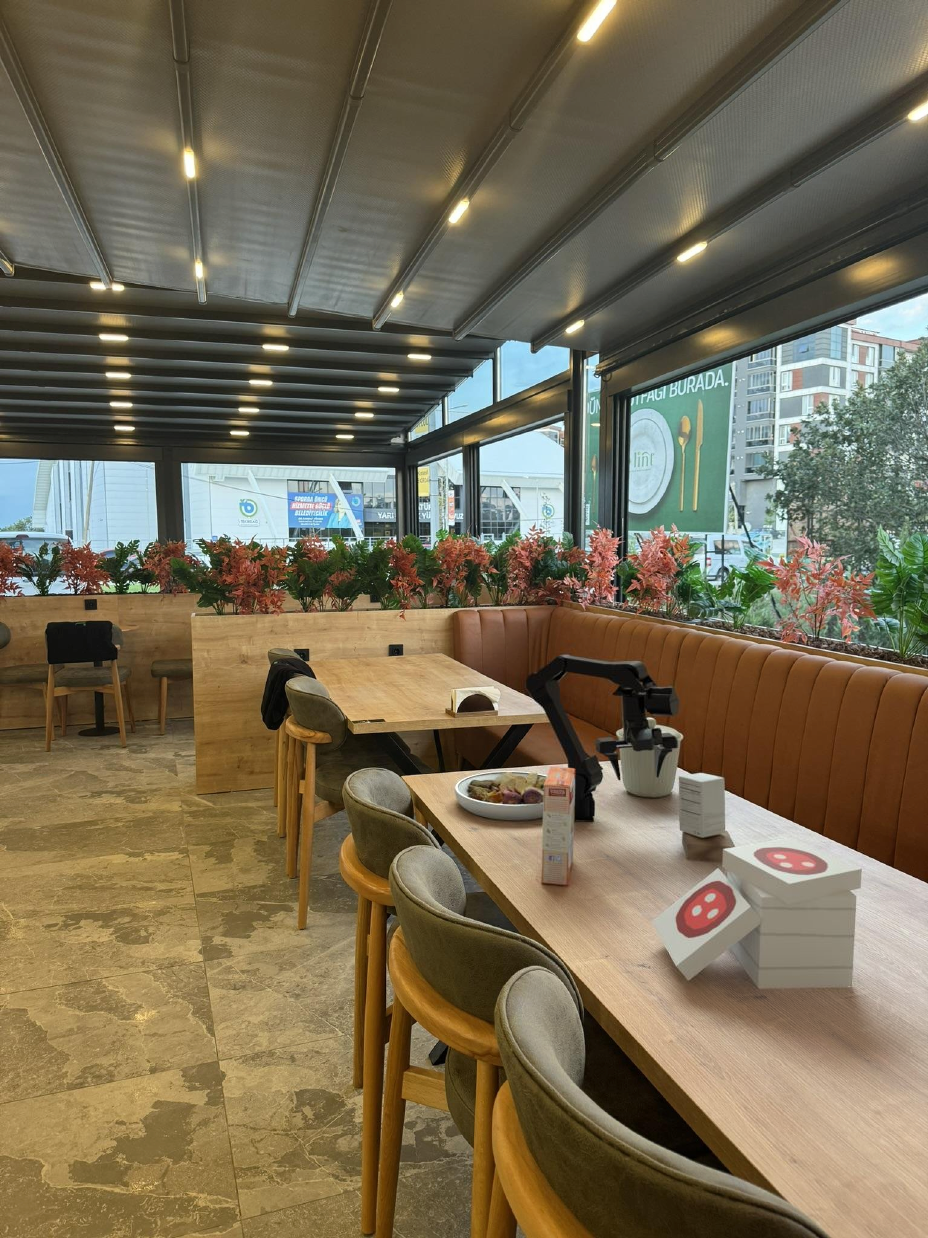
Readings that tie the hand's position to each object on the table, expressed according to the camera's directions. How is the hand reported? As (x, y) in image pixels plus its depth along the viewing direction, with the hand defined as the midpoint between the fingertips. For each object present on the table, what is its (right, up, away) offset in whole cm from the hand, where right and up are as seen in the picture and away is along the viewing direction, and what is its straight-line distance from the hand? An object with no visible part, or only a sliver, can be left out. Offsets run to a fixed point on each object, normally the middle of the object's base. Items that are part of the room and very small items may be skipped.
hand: (638, 778), depth 194 cm
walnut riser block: (+13, -15, -13) cm, 23 cm away
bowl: (-29, -11, +20) cm, 37 cm away
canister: (+9, -10, +31) cm, 34 cm away
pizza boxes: (+6, -19, -61) cm, 64 cm away
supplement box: (+12, -10, -11) cm, 19 cm away
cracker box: (-22, -15, -24) cm, 36 cm away
